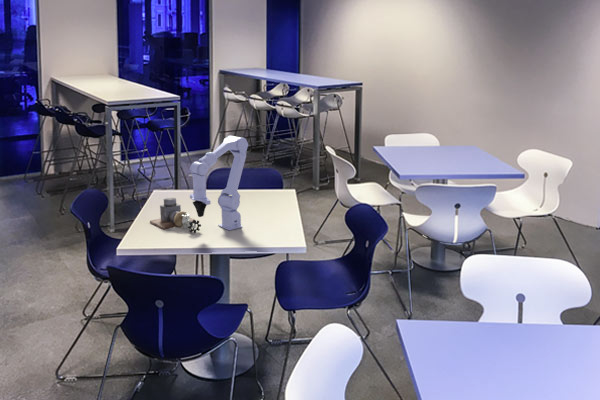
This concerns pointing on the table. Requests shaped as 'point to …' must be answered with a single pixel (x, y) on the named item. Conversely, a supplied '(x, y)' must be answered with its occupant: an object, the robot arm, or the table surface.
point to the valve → (189, 223)
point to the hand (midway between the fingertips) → (200, 216)
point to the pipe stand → (169, 215)
